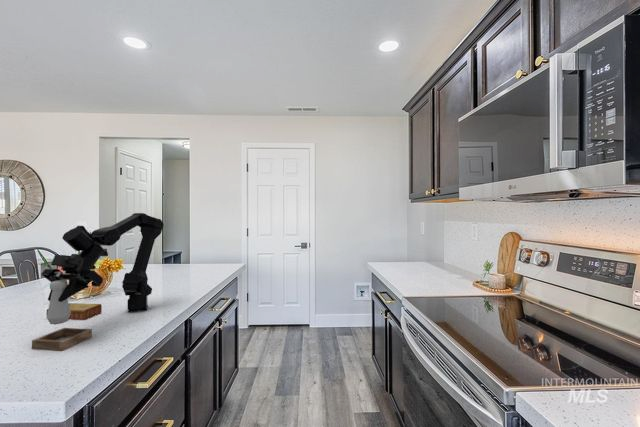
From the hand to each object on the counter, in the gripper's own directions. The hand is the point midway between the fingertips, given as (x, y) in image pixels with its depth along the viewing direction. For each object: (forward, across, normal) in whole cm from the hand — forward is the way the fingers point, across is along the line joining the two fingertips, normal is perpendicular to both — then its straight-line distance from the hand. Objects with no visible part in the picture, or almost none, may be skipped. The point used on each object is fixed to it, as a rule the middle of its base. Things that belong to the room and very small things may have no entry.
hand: (54, 300), depth 96 cm
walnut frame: (+9, +2, +10) cm, 13 cm away
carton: (-6, -19, +26) cm, 33 cm away
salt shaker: (+4, 0, +6) cm, 7 cm away
